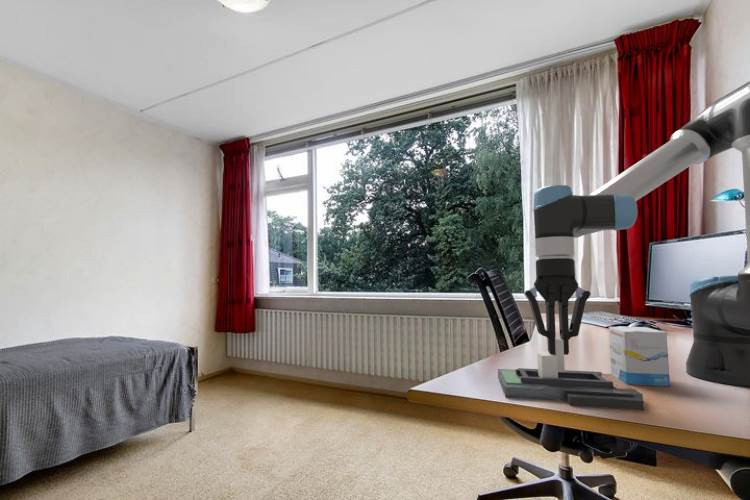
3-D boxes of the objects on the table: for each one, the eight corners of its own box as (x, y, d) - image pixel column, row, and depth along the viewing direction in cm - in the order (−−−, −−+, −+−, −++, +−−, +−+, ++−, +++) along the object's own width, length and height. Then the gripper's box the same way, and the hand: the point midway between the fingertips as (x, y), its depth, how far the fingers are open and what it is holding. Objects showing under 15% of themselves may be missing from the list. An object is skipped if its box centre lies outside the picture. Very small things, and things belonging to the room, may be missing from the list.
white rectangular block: (553, 375, 78) (552, 352, 79) (558, 381, 74) (557, 356, 75) (538, 375, 79) (537, 351, 79) (542, 380, 75) (541, 355, 75)
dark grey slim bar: (600, 379, 84) (600, 371, 84) (603, 381, 82) (603, 373, 82) (518, 374, 88) (517, 368, 88) (519, 376, 86) (518, 369, 86)
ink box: (671, 387, 77) (667, 331, 78) (627, 384, 79) (624, 330, 80) (649, 376, 86) (646, 326, 87) (610, 374, 87) (607, 325, 88)
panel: (611, 383, 80) (611, 369, 80) (643, 405, 67) (642, 388, 67) (497, 377, 85) (497, 364, 86) (505, 397, 72) (504, 381, 72)
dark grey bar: (639, 407, 66) (639, 398, 66) (644, 410, 64) (643, 401, 64) (567, 402, 68) (567, 393, 69) (570, 405, 67) (569, 396, 67)
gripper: (582, 258, 80) (586, 367, 79) (519, 259, 83) (523, 364, 81) (594, 256, 73) (600, 376, 71) (525, 257, 76) (529, 373, 74)
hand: (559, 369), depth 76 cm, fingers closed
